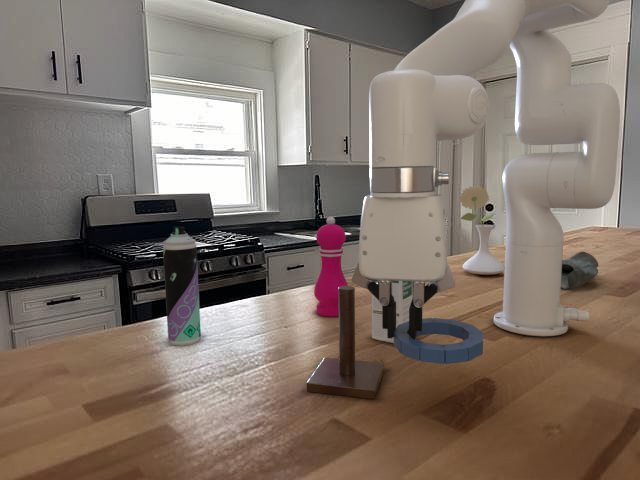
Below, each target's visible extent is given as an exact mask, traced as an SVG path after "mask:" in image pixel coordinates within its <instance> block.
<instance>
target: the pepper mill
mask: <svg viewBox="0 0 640 480" xmlns="http://www.w3.org/2000/svg"><path fill="white" fill-rule="evenodd" d="M346 235H347V234H346V232H345V229H343V227H342V226H340V225H338V224H336V219H335V217H334V216H328V217H327V218H326V224H324V225H322V226H321V227H319V228H318V230H317V232H316V237H315V238H316V239H315V240H316V243H317V245H319V248H318V252H319V253H318V255H319V256H320V261H321V268H320V271H319V274H318V277H317V280H316V282H315V285H314V289H313V290H314V291H313V294H314V297H315V299H316V300H317V301H318V302H317V303H316V313H317V315H319V316H322V317H327V318H328V317H329V318H330V317H331V318H332V317H333V318H334V317H339V287H341V286H349V285H348V281H347V279H346V278H345V275H344V272H343V270H342V269H343V268H342V257H343V256H344V248H343V245H344V244H345V242H346V240H347V239H346V238H347V237H346Z"/></svg>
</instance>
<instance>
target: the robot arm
mask: <svg viewBox="0 0 640 480" xmlns="http://www.w3.org/2000/svg"><path fill="white" fill-rule="evenodd" d="M610 2H611V0H464V2H463V4H462V5H461V7H460V8H459V10H458V12H457V13H456V14H455V16H454V18H453V19H452V20H450V22H448V23H446V24H445V25H444V26H442V27H441V28H439V29H438V30H437V31H436V32H434V33H433V34H432V35H431V36H429V37H428V38H426V39H425V40H424V41H422V42H421V43H420V44H419V45H418V46H416V47H415V48H413V50H411V51H409V53H408V54H407V55H405V56H404V58H402V59H401V61H399V63H398V64H397V65H396V66H395V68H394V69H393V70H388V71H384V72H381V73H379V74H377V75H376V76H374V77H373V79H372V80H371V81H370V84H369V91H368V102H369V103H368V107H369V108H368V113H369V114H368V116H369V117H368V119H369V122H368V123H369V124H368V125H369V126H368V127H369V190H370V192H369V194H368V195H365V196H364V198H363V202H362V203H363V205H362V211H361V216H360V228H359V241H358V263H357V265H356V267H355V269H354V272H353V275H352V277H351V282H352V283H353V285H356V286H358V287H361V288H363V289H365V290H368V292H370V294H371V293H372V294H373V295H374V296H375V297H376V298H377V299H378V300H379V303H380V304H381V305H382V327H383V329H387V338H392V337H394V331H395V329H396V302H395V300H394V297H393V296H392V281H414V293H413V298H412V301H411V304H410V307H409V336H410V337H411V338H412V339H415V340H416V338H417V336H416V334H417V331H422V319H423V307H424V305H425V304H426V303H427V302H428V301H429V300H430V299H432V298H433V297H434V296H435V295H436V294H438V293H440V292H441V293H442V292H445V291H447V290H450V289H453V288H455V286H456V278H455V277H454V274H453V272H452V269H451V267H450V265H449V263H448V237H447V219H446V210H445V208H446V207H445V203H444V202H445V201H444V196H443V194H440V193H439V194H438V193H437V191H436V190H437V188H439V186H443V185H449V182H450V173H449V172H443V171H439V169H437V167H436V166H437V142H442V141H444V142H445V141H456V140H457V141H458V140H462V139H466V138H469V137H472V136H473V135H475V134H476V133H478V132H479V131H480V130H481V129H482V128H483V127H484V126H485V124H486V122H487V120H488V117H489V114H490V100H489V95H488V93H487V91H486V88H485V87H484V86H483V84H481V83H480V81H478V80H477V79H475V78H473V77H472V76H473V75H475V74H476V73H479V72H480V71H482V70H484V69H487V68H488V67H490V66H492V65H493V64H495V63H497V62H498V61H499V60H501V59H502V58H503V57H504V56H505V55H506V53H507V52H508V50H509V48H510V50H511V52H512V55H513V57H514V60H515V64H516V87H515V89H516V91H515V108H514V131H515V136H516V139H517V140H518V141H519V142H520V143H522V144H524V145H528V146H551V145H552V146H553V145H574V144H579V145H580V146H581V147H582V151H564V152H563V151H561V152H559V151H556V152H554V151H553V152H534V153H526V154H522V155H521V154H520V155H518V156H516V157H514V158H512V159H511V160H509V162H508V163H506V165H505V167H504V169H503V171H502V180H501V181H502V190H503V196H504V197H503V198H504V204H505V248H504V249H505V252H504V268H505V269H504V271H503V272H504V273H503V275H504V276H503V278H504V279H503V297H502V298H503V299H502V311H498V312H496V313H495V314H494V315H493V323H494V325H495V326H497V327H498V328H500V329H502V330H503V331H507V332H510V333H514V334H518V335H524V336H532V337H554V336H555V337H557V336H561V335H564V334H565V333H567V332H568V330H569V322H570V321H577V322H589V321H590V311H589V310H583V309H578V308H577V307H565V306H564V305H563V304H562V303H561V289H562V288H561V273H562V260H563V254H564V253H563V252H564V239H565V238H564V231H563V227H562V225H561V223H560V221H559V220H558V219H557V217H556V216H555V215H554V213H553V212H552V210H551V209H574V210H575V209H576V210H594V209H595V210H596V209H600V208H603V207H606V206H607V205H608V204H609V203H610V202H611V200H612V197H613V195H614V191H615V186H616V178H617V175H616V174H617V163H618V153H619V152H618V151H619V150H618V149H619V137H620V123H621V105H620V99H619V95H618V93H617V91H616V89H615V88H614V87H613V86H612V85H610V84H608V83H604V82H590V83H583V84H575V85H572V84H571V82H572V81H571V80H572V79H571V78H572V61H573V60H572V59H573V58H572V55H571V53H570V51H569V49H568V48H567V47H566V46H565V44H564V43H563V42H562V41H561V40H560V39H559V38H558V37H557V36H555V34H554V33H552V32H551V31H550V30H551V29H556V28H562V27H565V26H569V25H574V24H579V23H584V22H588V21H591V20H594V19H596V18H598V17H600V16H601V15H602V14H603V13H604V12H605V11H606V9H607V8H608V7H609V5H610ZM377 280H379V282H378V281H377ZM426 283H427V284H426Z"/></svg>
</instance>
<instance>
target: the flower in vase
mask: <svg viewBox="0 0 640 480" xmlns="http://www.w3.org/2000/svg"><path fill="white" fill-rule="evenodd" d="M458 200H459V202H460V203H461V206H462V207H464V208H467V209H469V210H472V211H473V210H474V213H471V212H467V213H465V214H463V215H462V216H461V218H460V220H464V221H469V222H472V221H473V220H474V219H476V218H477V220H478V221H479V223H480V224H475V225H474V226H475V228H476V229H477V231H478V236H479V249H478V251H477V252H476V253H475V254H474V255H472V256H471V257H470V258H469V259H467V260H466V261H464V263H463V264H462V269H463V270H464V271H465V272H467V273H470V274H474V275H479V276H480V275H481V276H491V275H492V276H493V275H498V274H500V273H503V272H505V265H503V263H502V262H501V261H499V259H497V258H496V257H495V256H494V255H493V254H492V253H491V252H490V250H489V239H490V234H491V232H492V230H493V228H494V227H495V225H493V224H483V222H485V221H488V220H490V219H492V218H493V217H494V215H495V212H493V213H490V214H488V215H486V216H483V218H481V219H480V218H479V216H478V214H477V209H481V208H483V207H486V204H488V201H490V196H489V194H488V191H487V188H482V186H477V185H473V186H471V185H470V186H468V188H467V187H466V188H465V189H463V190H462V192H461V193H460V195H459V196H458Z"/></svg>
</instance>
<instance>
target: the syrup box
mask: <svg viewBox="0 0 640 480" xmlns="http://www.w3.org/2000/svg"><path fill="white" fill-rule="evenodd" d="M377 281H378V282H379V280H377ZM413 293H414V281H392V296H393V297H394V300H395V302H396V328H397V326H398V325H400V324H402V323H405V322H408V321H409V307H410V304H411V301H412V298H413ZM370 303H371V304H370V306H371V308H370V309H371V310H370V311H371V338H372V339H373V340H376V341H381V342H386V343H390V344H394V337H392V338H387V329H383V327H382V305H381V304H380V303H379V300H378V299H377V298H376V297H375V296H374V295H373V294H372V293H371V292H370Z"/></svg>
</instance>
